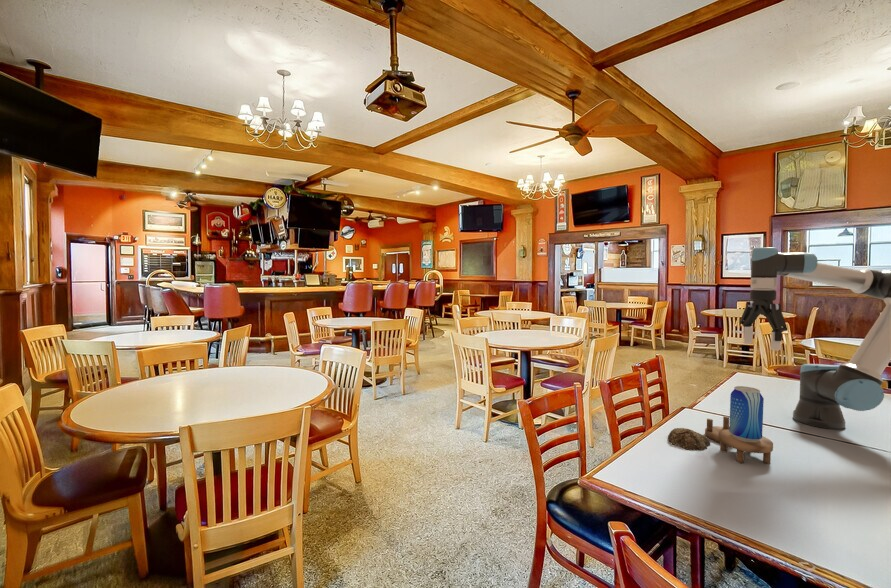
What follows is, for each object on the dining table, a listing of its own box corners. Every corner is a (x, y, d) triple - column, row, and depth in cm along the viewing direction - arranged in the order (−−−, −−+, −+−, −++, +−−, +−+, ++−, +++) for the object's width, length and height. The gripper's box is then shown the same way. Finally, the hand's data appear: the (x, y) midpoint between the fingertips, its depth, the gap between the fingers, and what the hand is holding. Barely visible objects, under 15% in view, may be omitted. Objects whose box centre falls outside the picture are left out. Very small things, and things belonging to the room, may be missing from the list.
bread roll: (673, 433, 147) (673, 420, 147) (712, 443, 138) (713, 429, 138) (662, 443, 138) (662, 429, 138) (703, 455, 129) (703, 440, 129)
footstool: (751, 447, 134) (751, 429, 134) (784, 467, 120) (785, 447, 120) (708, 446, 135) (709, 429, 135) (736, 466, 121) (737, 447, 121)
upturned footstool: (724, 429, 150) (724, 413, 150) (763, 444, 137) (763, 427, 137) (695, 433, 146) (696, 417, 146) (733, 449, 133) (733, 431, 132)
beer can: (768, 444, 122) (770, 393, 122) (737, 442, 124) (739, 392, 123) (752, 434, 131) (754, 386, 130) (724, 432, 132) (725, 384, 131)
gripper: (730, 288, 159) (728, 341, 160) (779, 290, 134) (777, 353, 135) (749, 288, 158) (747, 341, 159) (802, 290, 134) (800, 353, 135)
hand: (761, 346), depth 147 cm, fingers open, 13 cm apart
